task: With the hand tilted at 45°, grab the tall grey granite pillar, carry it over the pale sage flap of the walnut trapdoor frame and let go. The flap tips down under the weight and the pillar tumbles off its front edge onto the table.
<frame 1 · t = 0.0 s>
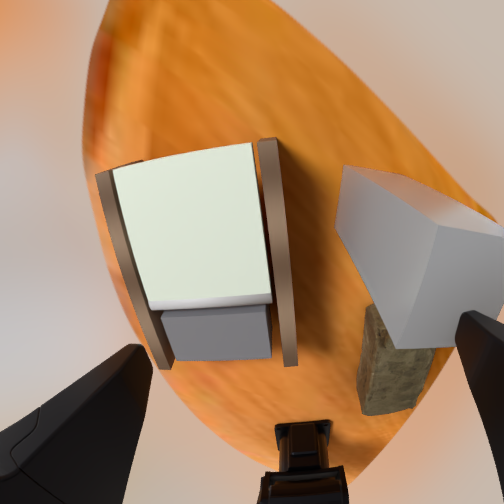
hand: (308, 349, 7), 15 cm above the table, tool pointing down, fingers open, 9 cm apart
granite pillar: (369, 200, 20), on the table
stone block: (386, 343, 26), on the table
trapdoor flap: (206, 261, 19), point 3 cm above the table, hinge at 0.0°
trapdoor frame: (216, 248, 23), on the table
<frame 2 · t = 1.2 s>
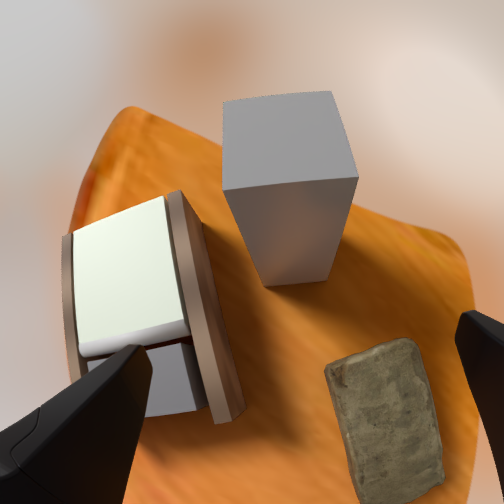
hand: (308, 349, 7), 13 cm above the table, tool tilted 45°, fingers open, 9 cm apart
granite pillar: (292, 254, 23), on the table
stone block: (376, 422, 18), on the table
trapdoor flap: (135, 312, 19), point 3 cm above the table, hinge at 0.0°
trapdoor frame: (156, 326, 22), on the table
when the fingers open (13 cm above the table, at t = 9.0 s): granite pillar drops 2 cm, resting on trapdoor flap.
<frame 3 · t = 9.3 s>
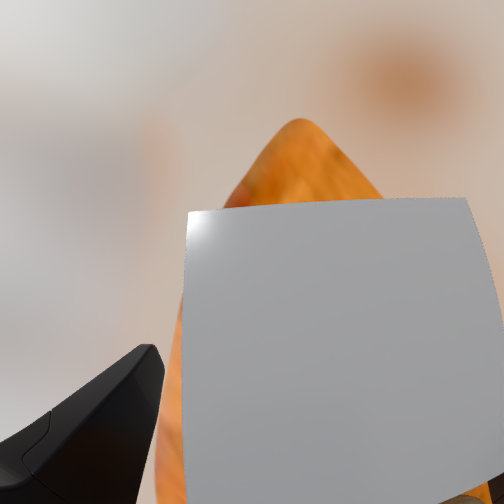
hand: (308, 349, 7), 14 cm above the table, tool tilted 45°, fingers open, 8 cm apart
granite pillar: (301, 381, 15), point 5 cm above the table, tilted 5°, touching trapdoor flap
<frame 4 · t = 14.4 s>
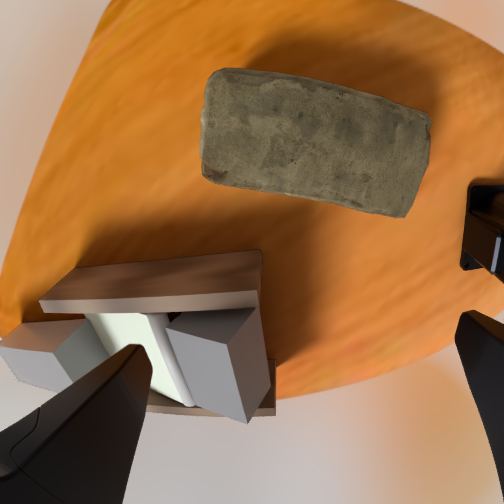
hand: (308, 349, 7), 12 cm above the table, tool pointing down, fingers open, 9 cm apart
granite pillar: (85, 359, 19), point 4 cm above the table, tilted 98°, touching trapdoor flap
stone block: (311, 137, 17), on the table
trapdoor flap: (164, 343, 20), point 3 cm above the table, hinge at -22.7°, touching granite pillar
trapdoor frame: (172, 322, 22), on the table
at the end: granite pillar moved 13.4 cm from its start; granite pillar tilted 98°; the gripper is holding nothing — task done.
